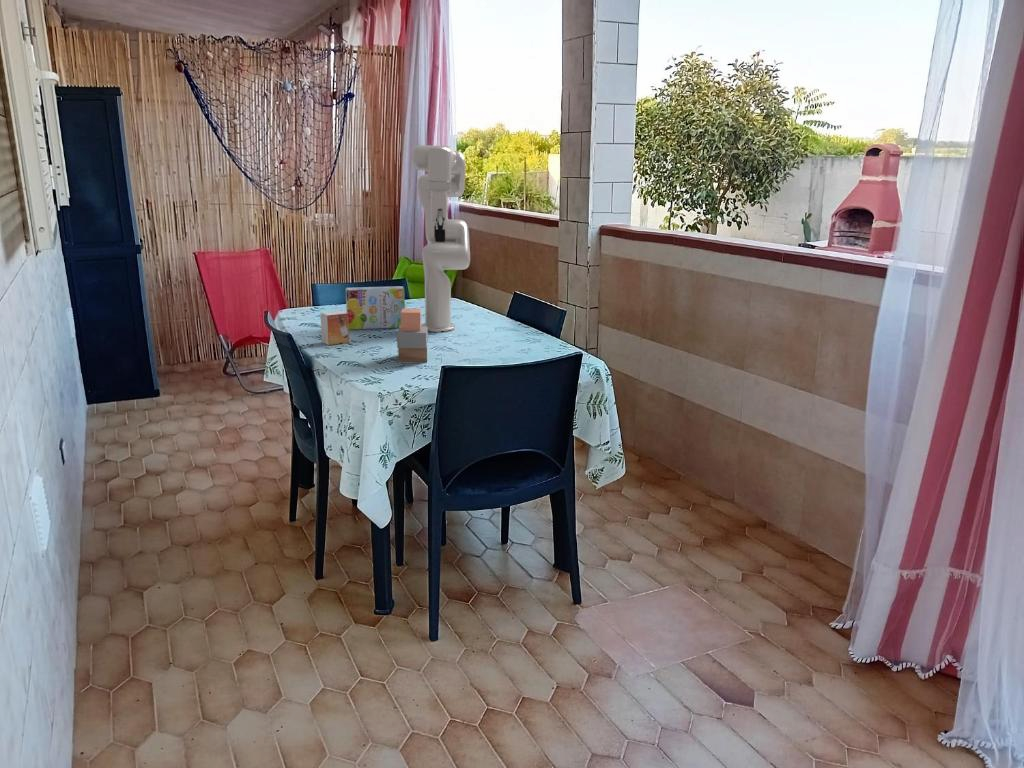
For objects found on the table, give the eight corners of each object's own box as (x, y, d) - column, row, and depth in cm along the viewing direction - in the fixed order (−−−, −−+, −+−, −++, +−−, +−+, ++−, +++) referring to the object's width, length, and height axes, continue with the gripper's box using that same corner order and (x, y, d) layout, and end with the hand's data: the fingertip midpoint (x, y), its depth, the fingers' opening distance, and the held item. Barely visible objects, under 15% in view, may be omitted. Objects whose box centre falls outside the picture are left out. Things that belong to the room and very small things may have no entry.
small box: (328, 345, 262) (326, 315, 259) (321, 342, 267) (319, 312, 263) (349, 342, 267) (348, 312, 264) (343, 339, 271) (341, 309, 268)
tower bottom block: (399, 356, 253) (399, 341, 251) (427, 355, 254) (427, 341, 252) (398, 363, 244) (398, 348, 243) (427, 363, 245) (427, 347, 244)
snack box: (403, 324, 295) (403, 285, 291) (405, 328, 290) (404, 288, 286) (347, 326, 290) (345, 286, 286) (347, 330, 285) (346, 289, 281)
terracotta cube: (402, 326, 249) (402, 308, 247) (421, 327, 249) (421, 308, 247) (401, 331, 243) (400, 312, 241) (420, 331, 243) (420, 312, 242)
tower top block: (400, 341, 251) (399, 326, 250) (427, 341, 252) (427, 326, 250) (397, 348, 243) (396, 332, 241) (426, 348, 243) (425, 332, 242)
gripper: (427, 184, 258) (427, 236, 264) (428, 188, 242) (428, 243, 247) (449, 185, 259) (449, 236, 264) (452, 188, 243) (452, 243, 248)
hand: (439, 239), depth 256 cm, fingers open, 9 cm apart
